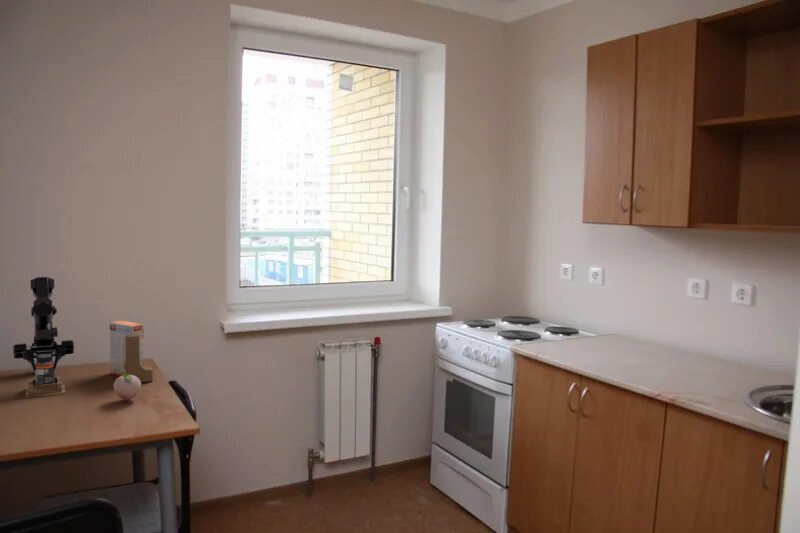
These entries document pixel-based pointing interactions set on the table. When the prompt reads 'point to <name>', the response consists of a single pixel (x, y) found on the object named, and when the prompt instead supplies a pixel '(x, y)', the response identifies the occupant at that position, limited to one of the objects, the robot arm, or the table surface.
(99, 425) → the table surface
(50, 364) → the supplement bottle
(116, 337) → the cracker box
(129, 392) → the decorative fruit
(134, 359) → the wooden block
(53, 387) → the socket
